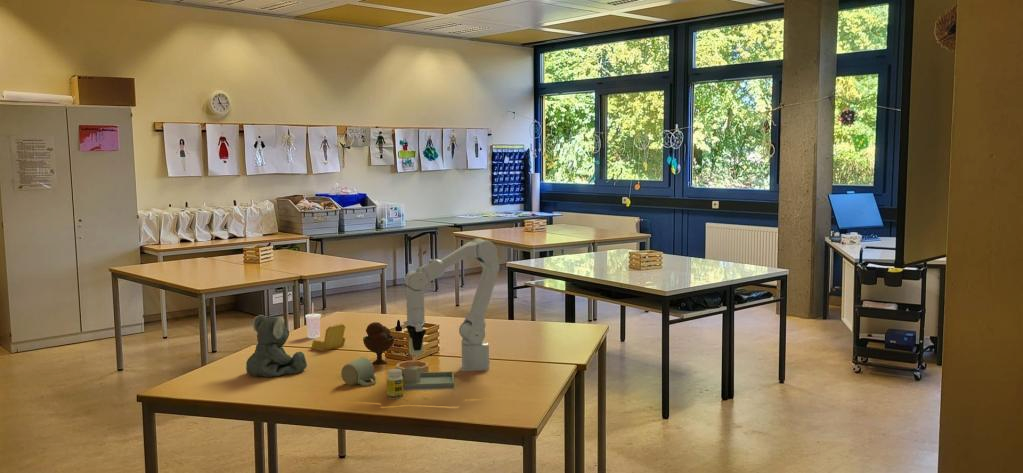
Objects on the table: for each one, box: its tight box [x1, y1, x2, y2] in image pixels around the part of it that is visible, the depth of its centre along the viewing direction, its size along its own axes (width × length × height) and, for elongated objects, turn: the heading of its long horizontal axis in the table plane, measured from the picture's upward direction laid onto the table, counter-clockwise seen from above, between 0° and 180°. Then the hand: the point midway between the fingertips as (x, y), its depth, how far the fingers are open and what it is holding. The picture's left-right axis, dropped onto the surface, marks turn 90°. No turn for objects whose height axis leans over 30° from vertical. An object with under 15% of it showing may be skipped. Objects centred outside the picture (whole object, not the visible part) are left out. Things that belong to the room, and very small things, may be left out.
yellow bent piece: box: [310, 323, 346, 352], centre depth 297 cm, size 10×10×9 cm
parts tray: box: [401, 371, 455, 392], centre depth 249 cm, size 17×17×2 cm
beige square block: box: [404, 366, 420, 384], centre depth 247 cm, size 4×4×5 cm
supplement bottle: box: [386, 368, 404, 400], centre depth 234 cm, size 5×5×8 cm
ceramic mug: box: [340, 356, 377, 387], centre depth 249 cm, size 11×8×8 cm
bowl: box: [395, 360, 430, 373], centre depth 260 cm, size 11×11×3 cm
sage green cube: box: [408, 337, 424, 357], centre depth 258 cm, size 4×4×5 cm
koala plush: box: [245, 314, 308, 378], centre depth 263 cm, size 17×18×20 cm
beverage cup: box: [305, 302, 322, 339], centre depth 314 cm, size 6×6×14 cm
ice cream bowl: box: [362, 321, 395, 366], centre depth 272 cm, size 11×11×15 cm
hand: (416, 348), depth 258 cm, fingers closed on sage green cube, 4 cm apart
